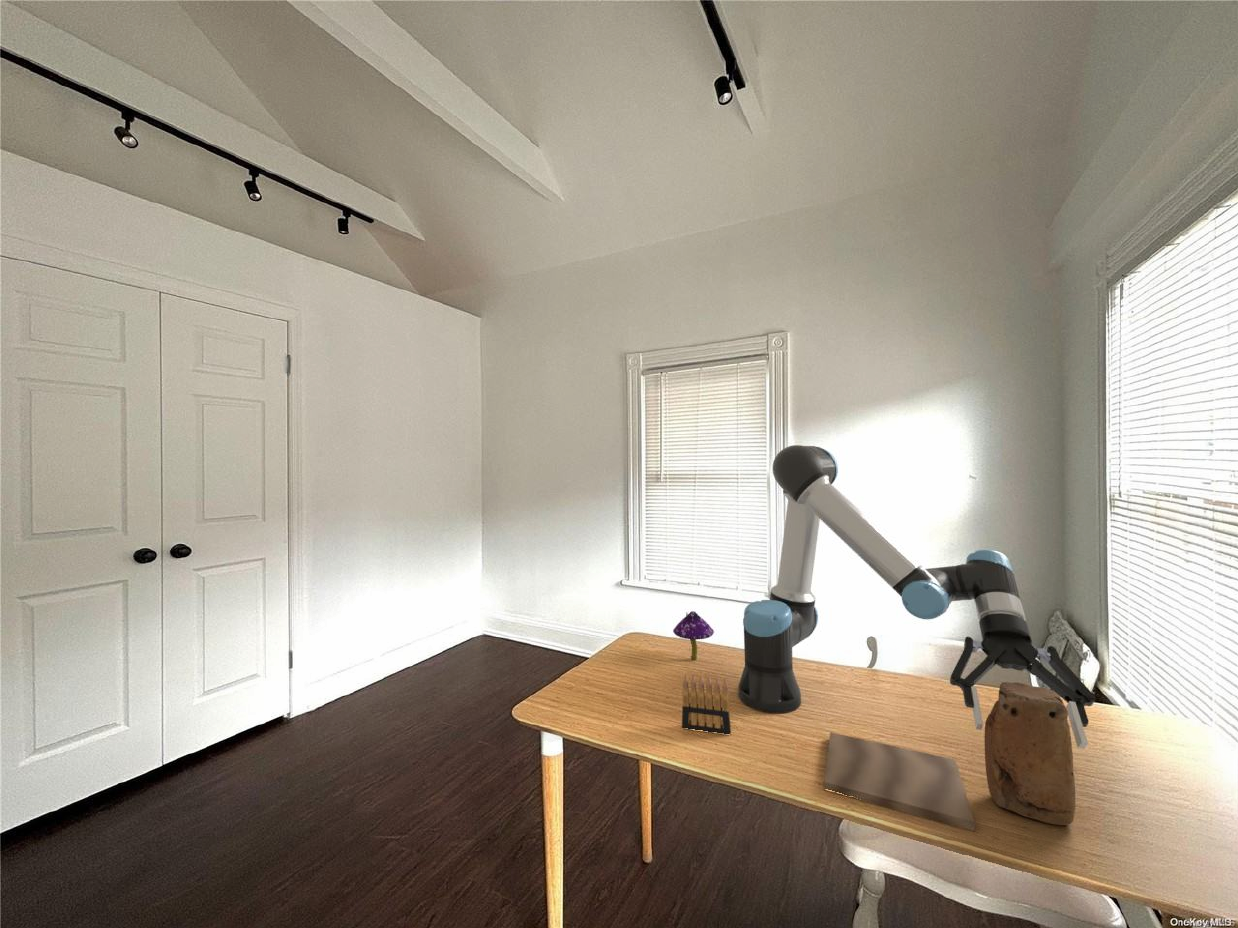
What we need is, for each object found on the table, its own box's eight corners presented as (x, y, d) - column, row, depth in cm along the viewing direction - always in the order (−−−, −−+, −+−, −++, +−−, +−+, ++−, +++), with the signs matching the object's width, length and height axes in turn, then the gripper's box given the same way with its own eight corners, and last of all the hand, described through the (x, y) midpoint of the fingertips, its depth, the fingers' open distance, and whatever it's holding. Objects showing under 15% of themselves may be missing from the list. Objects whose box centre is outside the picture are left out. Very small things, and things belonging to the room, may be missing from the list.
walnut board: (823, 790, 85) (823, 781, 85) (830, 738, 100) (830, 731, 100) (974, 831, 74) (974, 821, 74) (955, 767, 90) (955, 759, 90)
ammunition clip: (681, 728, 106) (680, 675, 106) (683, 724, 107) (681, 671, 108) (730, 735, 103) (729, 680, 103) (730, 731, 104) (729, 676, 105)
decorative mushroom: (670, 653, 150) (669, 606, 150) (708, 651, 151) (707, 604, 151) (677, 669, 137) (676, 618, 137) (719, 667, 138) (718, 616, 138)
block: (1061, 804, 80) (1057, 686, 80) (1081, 835, 73) (1076, 706, 74) (983, 786, 85) (979, 675, 85) (994, 813, 78) (990, 692, 78)
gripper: (1081, 639, 90) (1123, 761, 76) (926, 622, 101) (939, 727, 88) (1091, 619, 85) (1139, 746, 72) (928, 604, 97) (942, 711, 83)
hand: (1029, 736), depth 80 cm, fingers open, 13 cm apart
